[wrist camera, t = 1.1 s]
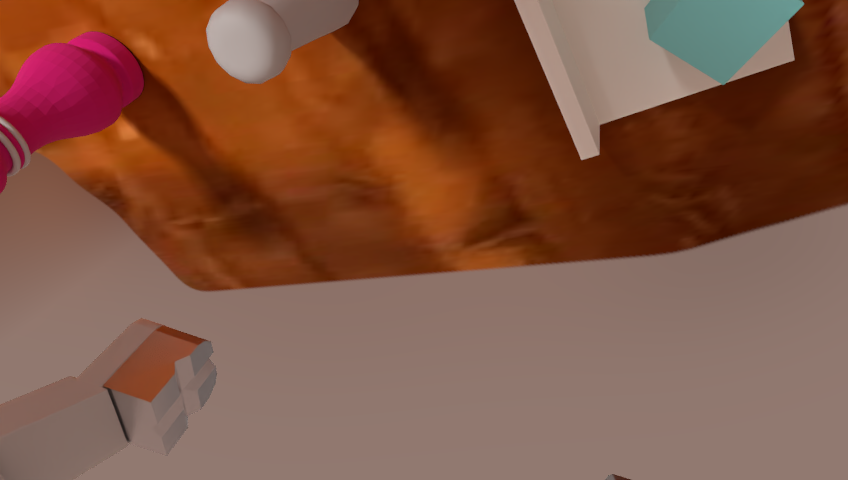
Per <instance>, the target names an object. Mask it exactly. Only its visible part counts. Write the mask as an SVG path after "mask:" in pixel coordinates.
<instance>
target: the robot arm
mask: <svg viewBox="0 0 848 480" xmlns="http://www.w3.org/2000/svg"><path fill="white" fill-rule="evenodd" d="M212 353H213V348H212V344H211V341H208V340H205V339H201V338H198V337H196V336H193V335H190V334H187V333H184V332H181V331H178V330H175V329H172V328H169V327H166V326H165V325H161V324H158V323H155V322H152V321H149V320H146V319H143V318H141V319H139V320H137V321H135V322H133V323H132V324H131V325H130V326H129V327H128V328H127V329H126V330H125V331H124V332H123V333H122V334H120V335H119V336H118V338H117V339H115V340H114V341H113V342H112V343H111V344H110V345H109V346H108V347H107V348H106V349H105V350H104V351H103V352H102V353H101V354H100V355H99V356H98V357H97V358H96V359H95V360H94V361H93V362H92V363H91V364H90V365H89V366H88V367H87V368H86V369H85V370H84V371H83V372H82V373H81V374H80V375H79V376H78V377H77V378H75V377H72V376H69V377H66V378H64V379H61V380H59V381H57V382H55V383H52V384H49V385H47V386H45V387H42V388H40V389H37V390H35V391H32V392H30V393H27V394H25V395H22V396H20V397H18V398H15V399H13V400H10V401H8V402H5V403H3V404H1V405H0V480H73V479H75V478H77V477H78V476H80V475H81V474H83V473H85V472H86V471H88V470H89V469H91V468H93V467H95V466H96V465H98V464H99V463H101V462H103V461H104V460H106V459H108V458H109V457H111V456H113V455H114V454H116V453H117V452H119V451H121V450H122V449H124V448H126V447H127V446H128V443H129V444H132V445H136V446H138V447H141V448H144V449H147V450H150V451H153V452H156V453H160V454H162V455H165V456H167V455H168V454H169V453H170V451H171V450H172V448H173V447H174V446H175V444H176V443H177V442H178V440H179V439H180V438H181V436H182V435H183V434H184V432H185V431H186V429H187V428H188V416H189V415H191V414H193V413H195V412H197V411H199V410H201V409H202V407H203V406H204V404H205V403H206V402H207V400H208V399H209V397H210V395H211V393H212V390H213V388H214V385H215V383H216V376H217V372H216V366H215V365H214V363H213V362H212V361H211V360H210V359H209V357H210V356H211V355H212ZM605 480H630V479H627V478H623V477H621V476H617V475H614V474H611V475H608V477H607V478H606V479H605Z"/></svg>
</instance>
